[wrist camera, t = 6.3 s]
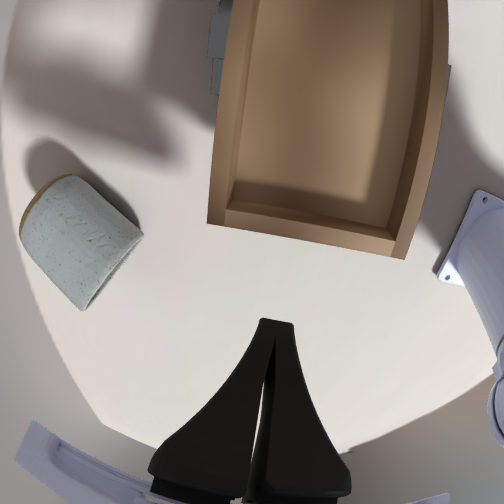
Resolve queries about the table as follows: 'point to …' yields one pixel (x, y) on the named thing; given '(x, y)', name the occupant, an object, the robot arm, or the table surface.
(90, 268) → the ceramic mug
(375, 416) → the table surface
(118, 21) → the table surface
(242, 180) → the tilt ramp
